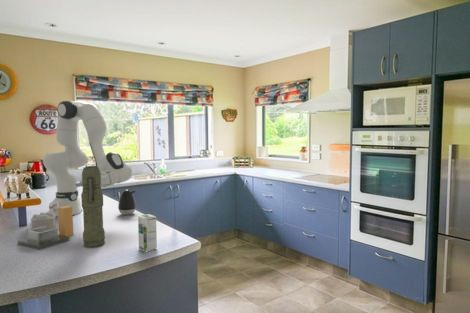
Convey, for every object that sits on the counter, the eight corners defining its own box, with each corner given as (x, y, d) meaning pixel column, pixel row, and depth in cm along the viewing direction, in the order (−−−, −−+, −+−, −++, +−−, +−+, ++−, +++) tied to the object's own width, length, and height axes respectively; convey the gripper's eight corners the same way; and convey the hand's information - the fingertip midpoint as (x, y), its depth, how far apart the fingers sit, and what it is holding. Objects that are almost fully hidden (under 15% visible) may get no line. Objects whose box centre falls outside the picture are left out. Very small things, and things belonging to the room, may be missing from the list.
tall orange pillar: (59, 236, 157) (57, 207, 156) (67, 233, 161) (66, 205, 160) (64, 237, 155) (63, 208, 154) (73, 234, 159) (72, 206, 158)
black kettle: (136, 215, 197) (136, 190, 196) (118, 216, 193) (117, 191, 192) (135, 211, 207) (134, 187, 206) (118, 213, 203) (117, 189, 202)
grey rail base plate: (48, 235, 159) (47, 223, 158) (69, 240, 151) (68, 227, 151) (17, 244, 146) (17, 230, 146) (39, 249, 139) (38, 235, 138)
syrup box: (138, 249, 138) (137, 215, 137) (150, 246, 142) (149, 213, 141) (145, 253, 133) (143, 218, 132) (157, 249, 138) (156, 215, 137)
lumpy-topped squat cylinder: (29, 234, 160) (29, 217, 160) (35, 227, 172) (35, 211, 172) (53, 232, 164) (52, 215, 163) (57, 225, 176) (57, 209, 175)
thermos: (104, 239, 152) (101, 164, 149) (105, 247, 141) (102, 167, 138) (83, 242, 148) (80, 165, 146) (83, 250, 137) (79, 168, 135)
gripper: (93, 174, 182) (69, 180, 172) (113, 171, 170) (88, 178, 159) (96, 185, 183) (72, 191, 172) (116, 183, 170) (91, 190, 159)
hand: (79, 185), depth 165 cm, fingers open, 8 cm apart
